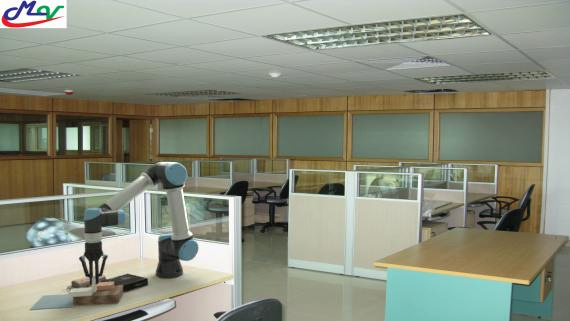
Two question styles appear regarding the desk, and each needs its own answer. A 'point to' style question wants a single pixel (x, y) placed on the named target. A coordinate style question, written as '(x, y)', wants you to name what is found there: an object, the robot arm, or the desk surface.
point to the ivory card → (80, 292)
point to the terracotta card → (105, 286)
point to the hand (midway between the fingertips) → (94, 291)
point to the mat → (53, 302)
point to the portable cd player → (128, 281)
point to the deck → (100, 297)
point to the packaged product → (83, 282)
